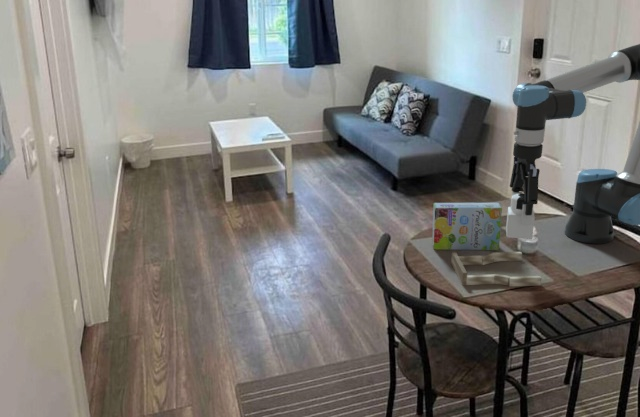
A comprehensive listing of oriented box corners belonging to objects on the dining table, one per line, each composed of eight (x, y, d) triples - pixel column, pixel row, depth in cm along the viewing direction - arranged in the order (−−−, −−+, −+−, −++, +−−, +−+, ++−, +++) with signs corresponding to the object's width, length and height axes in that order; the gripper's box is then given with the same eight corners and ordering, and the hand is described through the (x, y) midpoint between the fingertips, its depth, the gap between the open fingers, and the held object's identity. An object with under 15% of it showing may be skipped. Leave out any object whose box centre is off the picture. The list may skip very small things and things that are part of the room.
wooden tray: (520, 258, 179) (521, 247, 178) (540, 285, 163) (542, 273, 161) (450, 261, 179) (450, 249, 178) (463, 288, 163) (464, 275, 162)
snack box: (495, 243, 190) (499, 201, 185) (498, 251, 185) (502, 208, 180) (431, 243, 193) (433, 201, 187) (433, 250, 187) (434, 207, 182)
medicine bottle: (531, 230, 169) (535, 192, 165) (532, 239, 162) (536, 200, 158) (505, 228, 171) (509, 190, 166) (506, 237, 164) (509, 198, 160)
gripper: (503, 134, 167) (496, 206, 175) (528, 153, 147) (519, 233, 155) (528, 133, 167) (520, 205, 175) (557, 152, 147) (547, 232, 155)
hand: (520, 218), depth 165 cm, fingers closed on medicine bottle, 8 cm apart
